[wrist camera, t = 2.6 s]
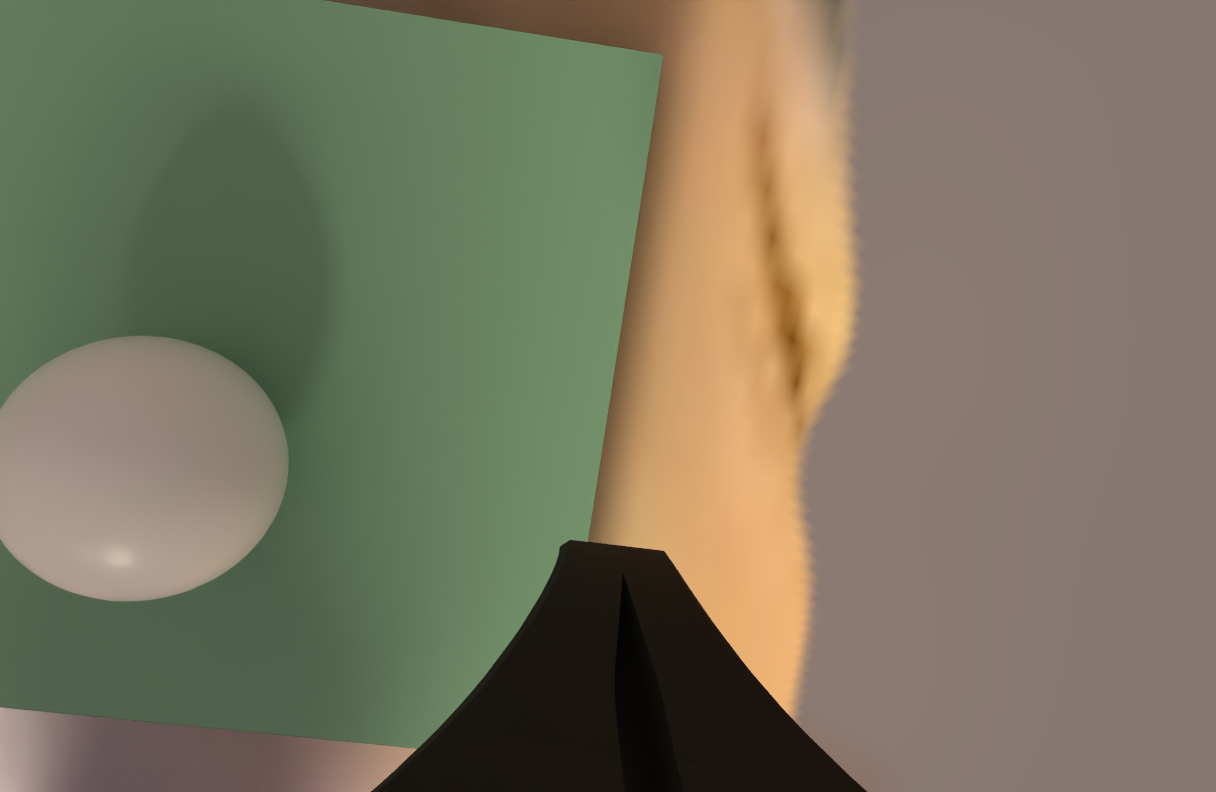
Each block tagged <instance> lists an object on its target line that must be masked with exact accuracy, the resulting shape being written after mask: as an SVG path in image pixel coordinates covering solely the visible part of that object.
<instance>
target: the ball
mask: <svg viewBox="0 0 1216 792" xmlns="http://www.w3.org/2000/svg"><path fill="white" fill-rule="evenodd" d="M288 466H289V456H288V445H287V440H286V436H285V432H284V429H283V426H282V423H281V420H280V418H279V415H278V413H277V411H276V409H275V407H274V405H273V403H272V402H271V400H270V399H269V397H268V396H267V394H266V393H265V392H264V390H263V389H262V388H261V387H260V386H259V385H258V383H257V382H256V381H255V380H254V379H253V378H252V377H251V376H250V375H248V374H247V373H246V372H245V371H244V370H243V369H241V368H240V367H239V366H237V365H236V364H235V363H233V362H232V361H230V360H228V359H227V358H225V357H223V356H222V355H220V354H218V353H216V352H213V351H211V350H209V349H206V348H204V347H202V346H199V345H196V344H193V343H190V342H187V341H183V340H178V339H173V338H167V337H156V336H125V337H117V338H111V339H105V340H100V341H96V342H93V343H90V344H87V345H84V346H81V347H78V348H75V349H73V350H70V351H68V352H66V353H64V354H62V355H60V356H58V357H56V358H54V359H53V360H51V361H49V362H48V363H46V364H44V365H43V366H41V367H40V368H39V369H37V370H36V371H35V372H33V373H32V374H31V375H30V376H28V377H27V378H26V379H25V380H24V381H23V382H22V383H21V384H20V385H19V386H18V387H17V388H16V389H15V390H14V391H13V392H12V393H11V394H10V396H9V397H8V399H7V400H6V402H5V403H4V404H3V406H2V407H1V409H0V540H1V541H2V543H3V544H4V546H5V547H6V548H7V549H8V550H9V551H10V553H11V554H12V555H13V556H14V557H15V558H16V559H17V560H18V561H19V562H20V563H21V564H22V565H24V566H25V567H26V568H27V569H29V570H30V571H31V572H33V573H34V574H35V575H37V576H39V577H40V578H42V579H44V580H45V581H47V582H49V583H51V584H53V585H55V586H57V587H59V588H61V589H64V590H67V591H69V592H72V593H75V594H79V595H83V596H87V597H91V598H95V599H102V600H108V601H145V600H153V599H159V598H165V597H169V596H173V595H176V594H180V593H183V592H186V591H189V590H192V589H194V588H196V587H198V586H200V585H203V584H205V583H207V582H209V581H211V580H214V579H215V578H217V577H218V576H220V575H221V574H223V573H225V572H226V571H228V570H229V569H230V568H232V567H233V566H235V565H236V564H237V563H238V562H239V561H241V560H242V559H243V558H244V557H245V556H246V555H247V554H248V553H249V552H250V551H251V550H252V549H253V548H254V547H255V546H256V545H257V543H258V542H259V541H260V540H261V539H262V538H263V536H264V535H265V533H266V531H267V530H268V528H269V527H270V525H271V523H272V522H273V520H274V518H275V517H276V515H277V512H278V510H279V508H280V505H281V503H282V500H283V497H284V493H285V489H286V485H287V479H288Z"/></svg>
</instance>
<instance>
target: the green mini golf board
mask: <svg viewBox="0 0 1216 792" xmlns="http://www.w3.org/2000/svg"><path fill="white" fill-rule="evenodd" d="M663 56H664V55H663V54H656V53H650V52H644V51H638V50H631V49H625V48H619V47H613V46H606V45H600V44H594V43H588V42H581V41H575V40H569V39H563V38H556V37H550V36H544V35H538V34H531V33H525V32H519V31H513V30H507V29H500V28H494V27H488V26H482V25H475V24H469V23H463V22H457V21H450V20H444V19H438V18H432V17H425V16H419V15H413V14H407V13H400V12H394V11H388V10H382V9H375V8H369V7H363V6H357V5H351V4H344V3H338V2H332V1H326V0H0V409H1V407H2V406H3V404H4V403H5V402H6V400H7V399H8V397H9V396H10V394H11V393H12V392H13V391H14V390H15V389H16V388H17V387H18V386H19V385H20V384H21V383H22V382H23V381H24V380H25V379H26V378H27V377H28V376H30V375H31V374H32V373H33V372H35V371H36V370H37V369H39V368H40V367H41V366H43V365H44V364H46V363H48V362H49V361H51V360H53V359H54V358H56V357H58V356H60V355H62V354H64V353H66V352H68V351H70V350H73V349H75V348H78V347H81V346H84V345H87V344H90V343H93V342H96V341H100V340H105V339H111V338H117V337H125V336H156V337H167V338H173V339H178V340H183V341H187V342H190V343H193V344H196V345H199V346H202V347H204V348H206V349H209V350H211V351H213V352H216V353H218V354H220V355H222V356H223V357H225V358H227V359H228V360H230V361H232V362H233V363H235V364H236V365H237V366H239V367H240V368H241V369H243V370H244V371H245V372H246V373H247V374H248V375H250V376H251V377H252V378H253V379H254V380H255V381H256V382H257V383H258V385H259V386H260V387H261V388H262V389H263V390H264V392H265V393H266V394H267V396H268V397H269V399H270V400H271V402H272V403H273V405H274V407H275V409H276V411H277V413H278V415H279V418H280V420H281V423H282V426H283V429H284V432H285V436H286V440H287V445H288V456H289V466H288V479H287V485H286V489H285V493H284V497H283V500H282V503H281V505H280V508H279V510H278V512H277V515H276V517H275V518H274V520H273V522H272V523H271V525H270V527H269V528H268V530H267V531H266V533H265V535H264V536H263V538H262V539H261V540H260V541H259V542H258V543H257V545H256V546H255V547H254V548H253V549H252V550H251V551H250V552H249V553H248V554H247V555H246V556H245V557H244V558H243V559H242V560H241V561H239V562H238V563H237V564H236V565H235V566H233V567H232V568H230V569H229V570H228V571H226V572H225V573H223V574H221V575H220V576H218V577H217V578H215V579H214V580H211V581H209V582H207V583H205V584H203V585H200V586H198V587H196V588H194V589H192V590H189V591H186V592H183V593H180V594H176V595H173V596H169V597H165V598H159V599H153V600H145V601H108V600H102V599H95V598H91V597H87V596H83V595H79V594H75V593H72V592H69V591H67V590H64V589H61V588H59V587H57V586H55V585H53V584H51V583H49V582H47V581H45V580H44V579H42V578H40V577H39V576H37V575H35V574H34V573H33V572H31V571H30V570H29V569H27V568H26V567H25V566H24V565H22V564H21V563H20V562H19V561H18V560H17V559H16V558H15V557H14V556H13V555H12V554H11V553H10V551H9V550H8V549H7V548H6V547H5V546H4V544H3V543H2V541H1V540H0V707H3V708H13V709H24V710H34V711H44V712H54V713H64V714H74V715H84V716H94V717H104V718H114V719H124V720H135V721H145V722H155V723H165V724H175V725H185V726H195V727H205V728H215V729H225V730H235V731H246V732H256V733H266V734H276V735H286V736H296V737H306V738H316V739H326V740H336V741H346V742H357V743H367V744H377V745H387V746H397V747H407V748H417V749H418V748H419V747H420V746H421V745H422V744H423V743H424V742H425V741H426V740H427V739H428V738H429V737H430V736H431V735H432V734H433V733H434V732H435V731H436V730H437V729H438V728H439V727H440V726H441V725H442V724H443V723H444V722H445V721H446V720H447V718H448V717H449V716H450V715H451V714H452V713H453V712H454V711H455V710H456V709H457V708H458V707H459V706H460V704H461V703H462V702H463V701H464V700H465V699H466V698H467V696H468V695H469V694H470V693H471V692H472V691H473V689H474V688H475V687H476V686H477V685H478V683H479V682H480V681H481V680H482V679H483V677H484V676H485V675H486V674H487V672H488V671H489V670H490V668H491V667H492V666H493V664H494V663H495V662H496V660H497V659H498V658H499V656H500V655H501V654H502V652H503V651H504V650H505V648H506V647H507V646H508V644H509V643H510V642H511V640H512V639H513V638H514V636H515V635H516V633H517V632H518V630H519V629H520V627H521V626H522V624H523V623H524V621H525V619H526V618H527V616H528V615H529V613H530V611H531V610H532V608H533V606H534V605H535V603H536V602H537V600H538V598H539V597H540V595H541V593H542V591H543V589H544V587H545V586H546V584H547V582H548V580H549V578H550V576H551V573H552V571H553V569H554V567H555V564H556V561H557V558H558V555H559V549H560V546H561V545H563V544H564V543H566V542H567V541H569V540H576V541H584V542H588V538H589V531H590V525H591V519H592V512H593V506H594V499H595V493H596V487H597V480H598V474H599V467H600V461H601V454H602V448H603V442H604V435H605V429H606V422H607V416H608V409H609V403H610V397H611V390H612V384H613V377H614V371H615V364H616V358H617V352H618V345H619V339H620V332H621V326H622V320H623V313H624V307H625V300H626V294H627V287H628V281H629V275H630V268H631V262H632V255H633V249H634V242H635V236H636V230H637V223H638V217H639V210H640V204H641V197H642V191H643V185H644V178H645V172H646V165H647V159H648V153H649V146H650V140H651V133H652V127H653V120H654V114H655V108H656V101H657V95H658V88H659V82H660V75H661V69H662V63H663Z"/></svg>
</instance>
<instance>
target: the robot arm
mask: <svg viewBox="0 0 1216 792" xmlns="http://www.w3.org/2000/svg"><path fill="white" fill-rule="evenodd" d="M371 792H867V791H866V790H864V788H862V787H861V786H860V785H859V784H858V783H857V782H856V781H855V780H853V779H852V778H851V777H850V776H849V775H848V774H847V773H846V772H845V771H844V770H843V769H842V768H841V767H840V766H839V765H838V764H837V763H836V762H835V761H834V760H833V759H832V758H831V757H830V756H829V755H827V754H826V752H825V751H824V750H823V749H821V748H820V747H819V746H818V745H817V744H816V743H815V742H814V741H813V740H812V739H811V738H810V737H809V736H808V735H807V734H806V733H805V732H804V731H803V730H802V729H801V728H800V727H799V726H798V724H797V723H796V722H795V721H794V720H793V719H792V718H791V717H790V716H789V715H788V714H787V713H786V712H785V711H784V710H783V708H782V707H781V706H780V705H779V704H778V703H777V702H776V700H775V699H774V698H773V697H772V696H771V695H770V693H769V692H768V691H767V690H766V689H765V688H764V687H763V685H762V684H761V683H760V682H759V681H758V680H757V679H756V677H755V676H754V675H753V674H752V673H751V671H750V670H749V669H748V668H747V666H746V665H745V664H744V663H743V661H742V660H741V659H740V657H739V656H738V655H737V654H736V652H735V651H734V650H733V648H732V647H731V646H730V644H729V643H728V642H727V640H726V639H725V638H724V636H723V635H722V634H721V632H720V631H719V630H718V628H717V627H716V626H715V624H714V623H713V622H712V620H711V619H710V617H709V616H708V615H707V613H706V612H705V610H704V609H703V607H702V606H701V604H700V603H699V602H698V600H697V599H696V597H695V596H694V594H693V593H692V591H691V590H690V588H689V587H688V585H687V584H686V582H685V581H684V579H683V578H682V576H681V575H680V573H679V572H678V570H677V569H676V567H675V566H674V564H673V563H672V561H671V560H670V559H669V557H668V556H667V554H666V553H665V552H664V551H660V550H651V549H643V548H635V547H626V546H618V545H610V544H601V543H593V542H584V541H576V540H569V541H567V542H566V543H564V544H563V545H561V546H560V549H559V555H558V558H557V561H556V564H555V567H554V569H553V571H552V573H551V576H550V578H549V580H548V582H547V584H546V586H545V587H544V589H543V591H542V593H541V595H540V597H539V598H538V600H537V602H536V603H535V605H534V606H533V608H532V610H531V611H530V613H529V615H528V616H527V618H526V619H525V621H524V623H523V624H522V626H521V627H520V629H519V630H518V632H517V633H516V635H515V636H514V638H513V639H512V640H511V642H510V643H509V644H508V646H507V647H506V648H505V650H504V651H503V652H502V654H501V655H500V656H499V658H498V659H497V660H496V662H495V663H494V664H493V666H492V667H491V668H490V670H489V671H488V672H487V674H486V675H485V676H484V677H483V679H482V680H481V681H480V682H479V683H478V685H477V686H476V687H475V688H474V689H473V691H472V692H471V693H470V694H469V695H468V696H467V698H466V699H465V700H464V701H463V702H462V703H461V704H460V706H459V707H458V708H457V709H456V710H455V711H454V712H453V713H452V714H451V715H450V716H449V717H448V718H447V720H446V721H445V722H444V723H443V724H442V725H441V726H440V727H439V728H438V729H437V730H436V731H435V732H434V733H433V734H432V735H431V736H430V737H429V738H428V739H427V740H426V741H425V742H424V743H423V744H422V745H421V746H420V747H419V748H418V749H417V750H416V751H415V752H414V753H413V754H412V755H411V756H410V757H408V758H407V759H406V760H405V761H404V762H403V763H402V764H401V765H400V766H399V767H398V768H397V769H396V770H395V771H394V772H393V773H392V774H391V775H389V776H388V777H387V778H386V779H385V780H384V781H383V782H382V783H381V784H379V785H378V786H377V787H376V788H375V789H374V790H373V791H371Z"/></svg>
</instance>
